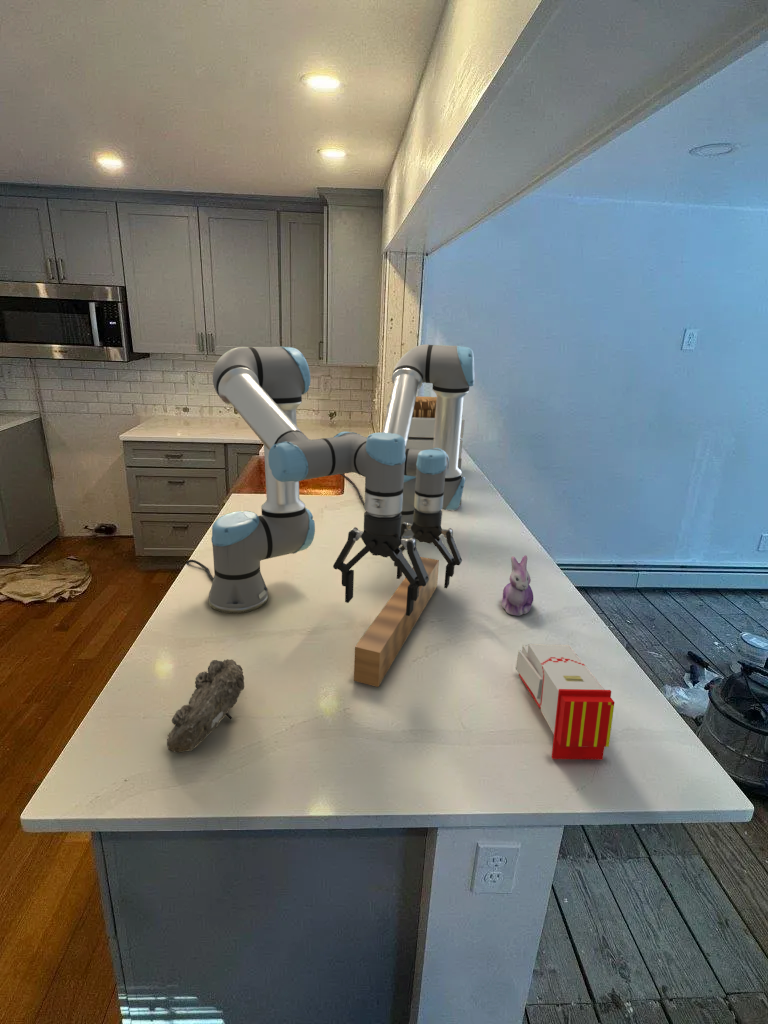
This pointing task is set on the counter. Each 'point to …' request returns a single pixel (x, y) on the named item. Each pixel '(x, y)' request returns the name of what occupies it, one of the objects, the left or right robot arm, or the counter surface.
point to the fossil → (206, 705)
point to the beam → (391, 629)
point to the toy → (568, 700)
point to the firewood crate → (426, 426)
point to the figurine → (518, 589)
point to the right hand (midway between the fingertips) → (422, 581)
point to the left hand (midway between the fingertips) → (378, 606)
